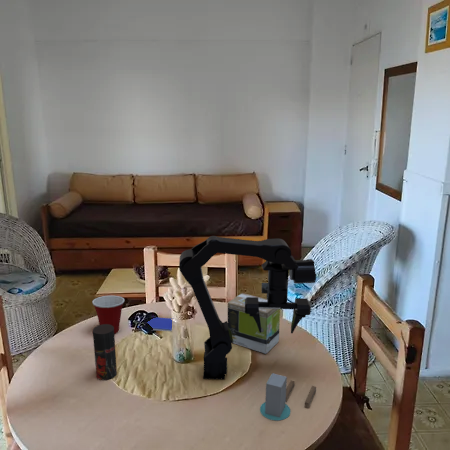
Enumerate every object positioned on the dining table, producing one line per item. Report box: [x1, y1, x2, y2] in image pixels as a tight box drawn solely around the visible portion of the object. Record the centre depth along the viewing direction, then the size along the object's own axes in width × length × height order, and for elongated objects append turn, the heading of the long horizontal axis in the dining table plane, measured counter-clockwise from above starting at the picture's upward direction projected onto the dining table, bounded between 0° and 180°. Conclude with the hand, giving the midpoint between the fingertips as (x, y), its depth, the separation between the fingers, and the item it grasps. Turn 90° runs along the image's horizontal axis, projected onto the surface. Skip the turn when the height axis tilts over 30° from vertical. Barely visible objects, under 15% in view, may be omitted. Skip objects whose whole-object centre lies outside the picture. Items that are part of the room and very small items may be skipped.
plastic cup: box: [92, 295, 125, 335], centre depth 160 cm, size 11×11×12 cm
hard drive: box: [137, 316, 173, 332], centre depth 166 cm, size 2×8×12 cm
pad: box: [259, 401, 292, 421], centre depth 121 cm, size 8×8×1 cm
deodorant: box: [92, 324, 118, 381], centre depth 134 cm, size 6×6×15 cm
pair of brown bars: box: [286, 379, 317, 409], centre depth 127 cm, size 7×8×2 cm
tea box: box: [227, 292, 281, 354], centre depth 153 cm, size 15×10×15 cm
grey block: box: [264, 373, 288, 418], centre depth 120 cm, size 4×5×9 cm
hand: (275, 332), depth 135 cm, fingers open, 9 cm apart
